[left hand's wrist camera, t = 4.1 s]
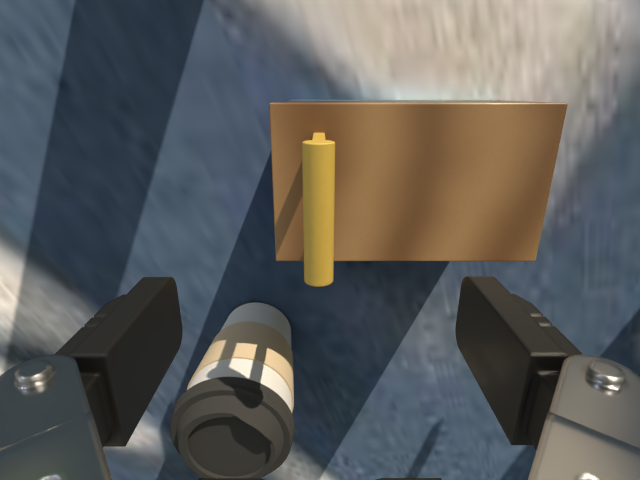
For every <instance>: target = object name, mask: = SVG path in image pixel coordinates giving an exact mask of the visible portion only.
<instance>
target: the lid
mask: <svg viewBox="0 0 640 480" xmlns="http://www.w3.org/2000/svg"><path fill="white" fill-rule="evenodd" d="M269 107H270V131H271V155H272V179H273V203H274V227H275V251H276V261H304V281H305V283H306V284H308V285H310V286H315V287H322V286H327V285H330V284H331V283H332V282H333V267H334V261H535V260H536V255H537V250H538V245H539V241H540V236H541V231H542V226H543V221H544V216H545V211H546V206H547V202H548V197H549V192H550V187H551V182H552V177H553V172H554V167H555V163H556V158H557V153H558V148H559V143H560V138H561V133H562V129H563V124H564V119H565V114H566V109H567V103H270V104H269Z"/></svg>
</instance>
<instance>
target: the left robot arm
mask: <svg viewBox="0 0 640 480" xmlns="http://www.w3.org/2000/svg"><path fill="white" fill-rule="evenodd" d="M181 340H182V322H181V315H180V308H179V300H178V293H177V286H176V282H175V280H174V279H173V278H172V277H144V278H142V279H141V280H140V281H139V282H138V283H137V284H136V285H135V286H134V287H133V288H132V289H131V291H130V292H129V293H128V294H127V295H122V296H120V297H118V298H116V299H114V300H112V301H111V302H109V303H107V304H105V305H104V306H103V307H102V308H101V309H100V310H99V311H98V312H97V313H96V314H95V315H94V318H91V319H90V320H89V321H88V322H87V323H86V324H85V327H82V328H81V329H80V330H79V331H78V332H77V333H76V334H75V335H74V336H73V337H72V338H71V339H70V340H69V341H68V342H67V343H66V344H65V345H64V346H63V347H62V348H61V349H60V350H59V351H58V352H57V353H56V354H55V355H47V356H42V357H38V358H34V359H31V360H28V361H25V362H23V363H21V364H19V365H17V366H15V367H13V368H11V369H9V370H8V371H6V372H5V373H4V374H2V375H1V376H0V480H112V478H111V475H110V471H109V468H108V465H107V461H106V458H105V454H104V451H103V447H104V446H126V444H127V443H128V441H129V439H130V437H131V435H132V433H133V432H134V430H135V428H136V426H137V424H138V423H139V421H140V419H141V417H142V415H143V414H144V412H145V410H146V408H147V406H148V404H149V403H150V401H151V399H152V397H153V395H154V394H155V392H156V390H157V388H158V386H159V384H160V383H161V381H162V379H163V377H164V375H165V374H166V372H167V370H168V368H169V366H170V365H171V363H172V361H173V359H174V357H175V355H176V354H177V352H178V350H179V348H180V345H181ZM456 340H457V344H458V347H459V349H460V351H461V353H462V355H463V357H464V359H465V361H466V362H467V364H468V366H469V368H470V370H471V372H472V373H473V375H474V377H475V379H476V381H477V383H478V384H479V386H480V388H481V390H482V392H483V394H484V395H485V397H486V399H487V401H488V403H489V405H490V406H491V408H492V410H493V412H494V414H495V416H496V417H497V419H498V421H499V423H500V425H501V427H502V428H503V430H504V432H505V434H506V436H507V438H508V439H509V441H510V443H511V445H533V446H534V447H535V449H536V454H535V458H534V461H533V465H532V468H531V471H530V475H529V478H528V480H640V376H639V375H638V374H636V373H635V372H634V371H632V370H631V369H629V368H627V367H625V366H623V365H621V364H619V363H617V362H615V361H612V360H609V359H606V358H602V357H598V356H593V355H583V354H582V353H581V352H580V351H579V350H578V349H577V348H576V347H575V346H574V345H573V344H572V343H571V342H570V341H569V340H568V339H567V338H566V337H565V336H564V335H563V334H562V333H561V332H560V331H559V330H558V329H557V328H556V327H555V326H552V323H551V322H550V321H549V320H548V319H547V318H546V317H543V314H542V313H541V312H540V311H539V310H538V309H537V308H536V307H535V306H534V305H533V304H532V303H530V302H528V301H526V300H524V299H523V298H521V297H519V296H517V295H515V294H510V293H509V292H508V291H507V289H506V288H505V287H504V286H503V285H502V284H501V283H500V282H499V281H498V280H497V279H496V278H495V277H465V278H464V279H463V281H462V285H461V291H460V299H459V306H458V313H457V321H456ZM198 480H263V479H259V478H199V479H198ZM377 480H442V479H441V478H381V479H377Z"/></svg>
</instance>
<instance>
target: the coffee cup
mask: <svg viewBox="0 0 640 480" xmlns="http://www.w3.org/2000/svg"><path fill="white" fill-rule="evenodd" d="M293 407H294V388H293V354H292V350H291V327H290V324H289V322H288V320H287V318H286V317H285V316H284V314H283V313H282V312H280V311H279V310H278V309H276V308H275V307H273V306H271V305H268V304H264V303H247V304H244V305H241V306H239V307H237V308H236V309H235V310H233V311H232V312H231V314H230V315H229V317H228V318H227V320H226V322H225V324H224V325H223V327H222V329H221V331H220V332H219V333H218V334H217V335H216V337H215V338H214V340H213V342H212V344H211V345H210V347H209V349H208V351H207V352H206V354H205V356H204V358H203V359H202V361H201V363H200V365H199V366H198V368H197V370H196V372H195V373H194V375H193V377H192V379H191V380H190V382H189V385H188V388H187V391H186V392H185V393H184V394H183V395H182V396H181V397H180V398H179V400H178V401H177V403H176V405H175V407H174V410H173V414H172V419H171V424H170V433H171V438H172V441H173V443H174V445H175V447H176V449H177V451H178V452H179V454H180V455H181V457H182V459H183V460H184V462H185V463H186V465H187V466H188V467H189V468H190V469H191V470H192V471H193V472H195V473H196V474H198V475H199V476H201V477H203V478H261V477H263V476H265V475H267V474H269V473H271V472H273V471H274V470H275V469H277V468H278V467H279V466H280V465H281V464H282V463H283V462H284V461H285V459H286V458H287V456H288V454H289V452H290V449H291V444H292V440H293V437H294V431H295V424H294V418H293V415H292V412H293Z"/></svg>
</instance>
